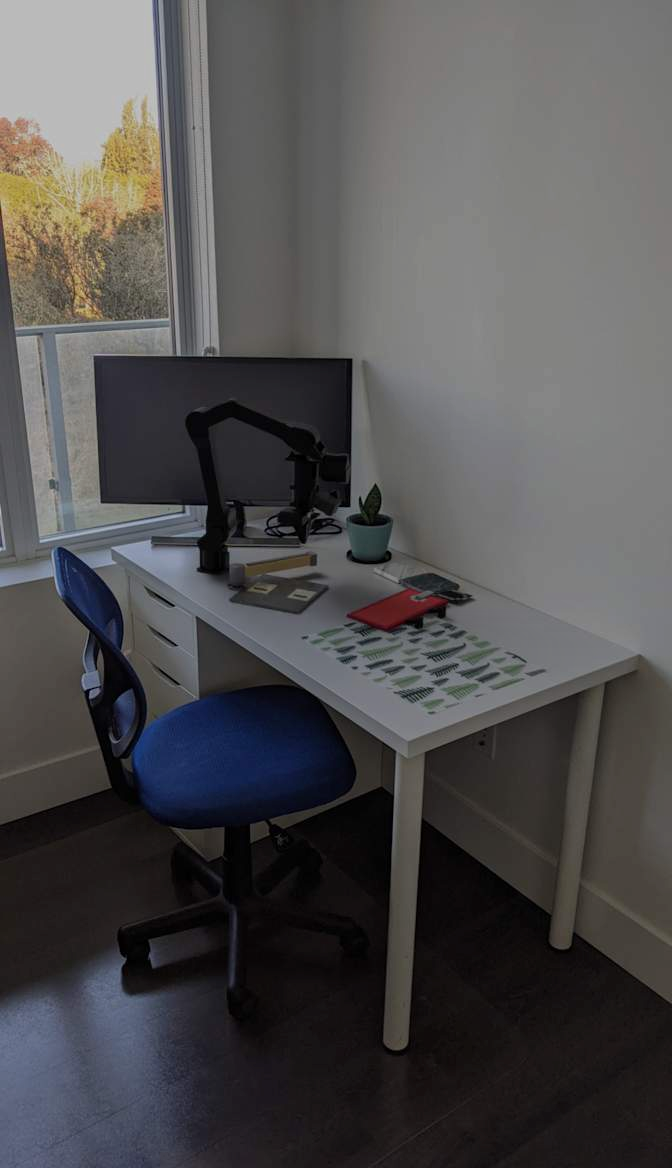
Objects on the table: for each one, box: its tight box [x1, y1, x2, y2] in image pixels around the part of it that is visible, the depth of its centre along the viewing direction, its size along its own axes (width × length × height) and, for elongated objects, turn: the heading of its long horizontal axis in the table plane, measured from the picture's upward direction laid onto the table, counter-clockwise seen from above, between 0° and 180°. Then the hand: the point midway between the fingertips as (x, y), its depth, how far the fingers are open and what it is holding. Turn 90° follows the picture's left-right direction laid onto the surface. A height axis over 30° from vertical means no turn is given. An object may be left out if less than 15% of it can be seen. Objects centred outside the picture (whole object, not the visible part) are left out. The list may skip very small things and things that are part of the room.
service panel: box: [226, 573, 329, 615], centre depth 212 cm, size 22×18×1 cm
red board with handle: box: [346, 587, 474, 633], centre depth 206 cm, size 30×3×15 cm
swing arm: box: [229, 550, 318, 586], centre depth 219 cm, size 23×4×4 cm, turn 124°
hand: (303, 543), depth 219 cm, fingers closed
